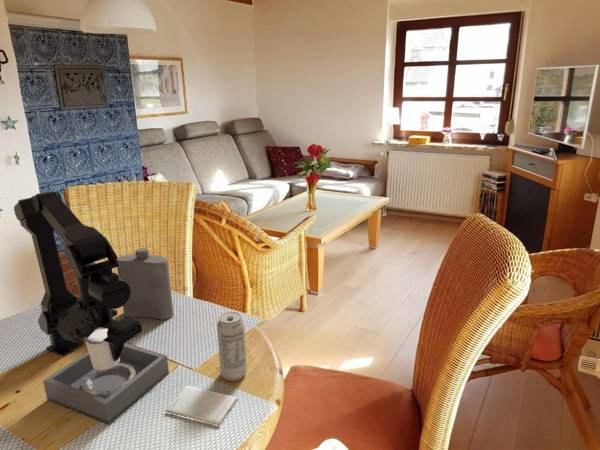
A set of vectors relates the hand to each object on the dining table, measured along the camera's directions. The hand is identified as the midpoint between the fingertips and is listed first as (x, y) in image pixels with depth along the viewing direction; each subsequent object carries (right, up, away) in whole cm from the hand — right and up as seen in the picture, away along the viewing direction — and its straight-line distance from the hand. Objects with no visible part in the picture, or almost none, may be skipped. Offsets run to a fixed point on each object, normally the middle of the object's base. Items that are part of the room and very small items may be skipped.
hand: (105, 356), depth 101 cm
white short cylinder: (0, -2, +1) cm, 2 cm away
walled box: (0, -7, +2) cm, 8 cm away
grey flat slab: (+22, -10, -4) cm, 25 cm away
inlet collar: (0, -7, +2) cm, 8 cm away
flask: (-1, +3, +33) cm, 33 cm away
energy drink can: (+27, -6, +6) cm, 29 cm away
